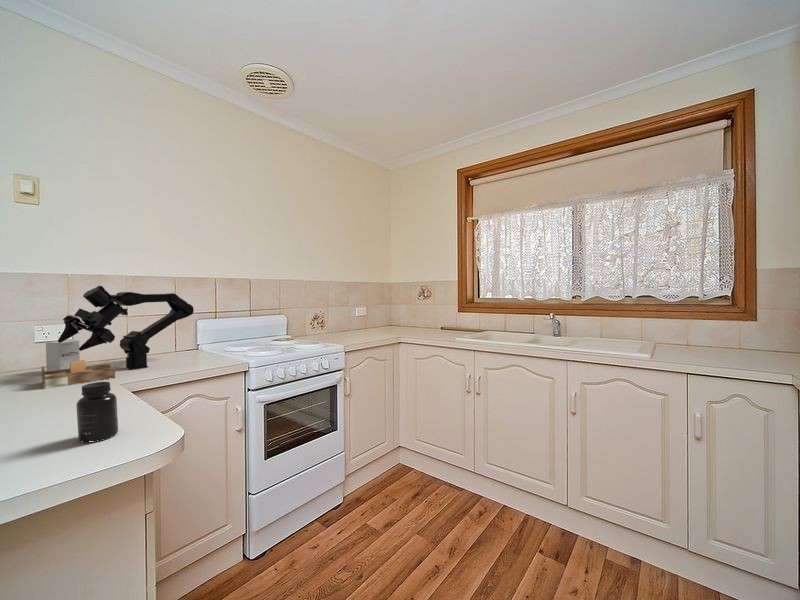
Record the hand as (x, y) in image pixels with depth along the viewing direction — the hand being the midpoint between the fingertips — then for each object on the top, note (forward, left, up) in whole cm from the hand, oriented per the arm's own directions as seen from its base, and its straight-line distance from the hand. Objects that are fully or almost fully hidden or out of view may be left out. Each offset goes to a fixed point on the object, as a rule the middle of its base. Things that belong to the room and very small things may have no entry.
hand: (68, 346), depth 128 cm
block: (-2, +3, -10) cm, 10 cm away
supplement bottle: (0, +74, -13) cm, 75 cm away
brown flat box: (-2, +3, -13) cm, 13 cm away
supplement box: (+1, -21, -13) cm, 25 cm away
